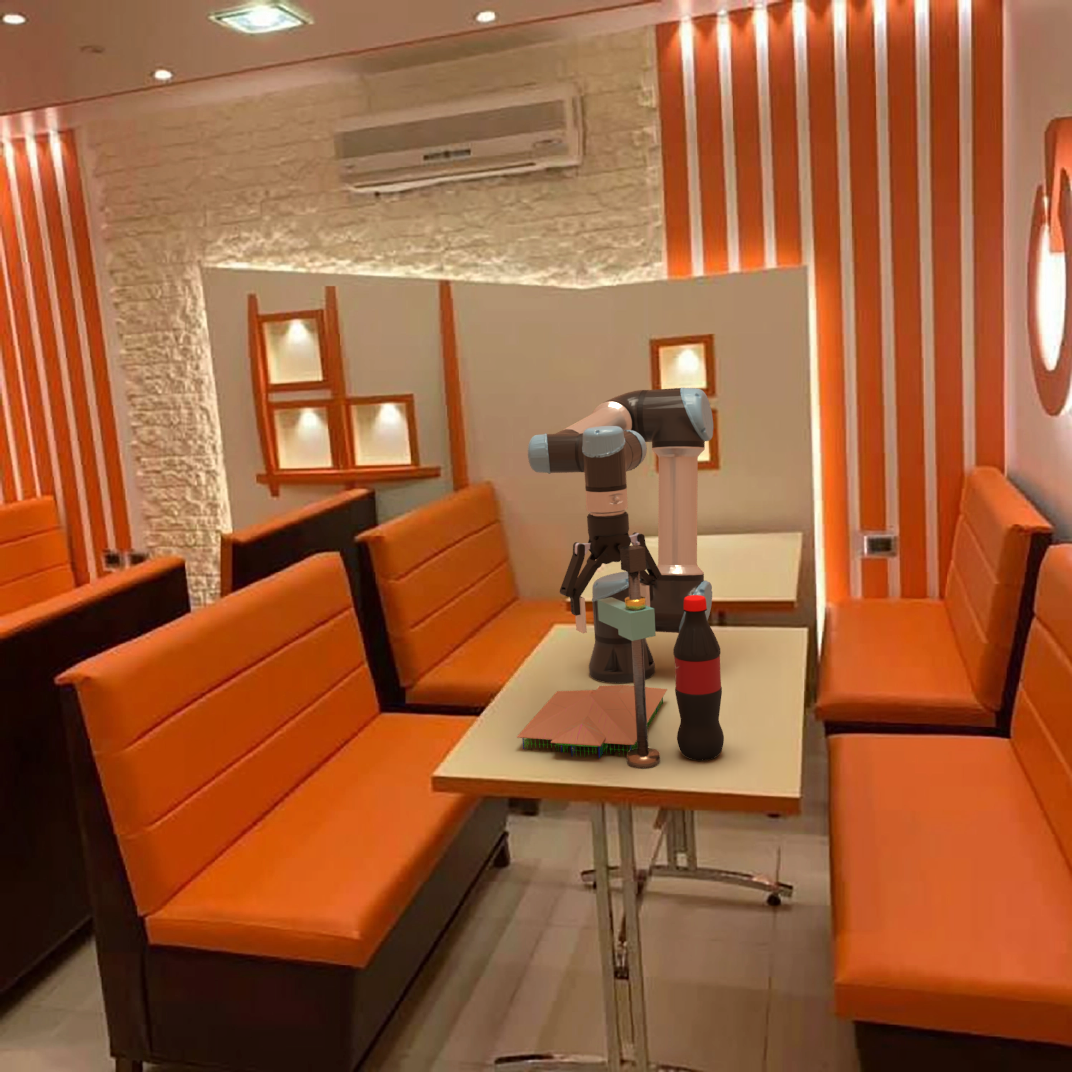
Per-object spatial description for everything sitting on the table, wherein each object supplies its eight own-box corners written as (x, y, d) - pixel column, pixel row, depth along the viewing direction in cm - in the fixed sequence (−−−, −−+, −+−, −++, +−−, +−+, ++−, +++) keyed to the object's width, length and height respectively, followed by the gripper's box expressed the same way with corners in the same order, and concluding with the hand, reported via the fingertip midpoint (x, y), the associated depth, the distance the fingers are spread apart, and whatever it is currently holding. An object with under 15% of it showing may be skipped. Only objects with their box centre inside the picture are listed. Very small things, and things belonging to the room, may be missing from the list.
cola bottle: (719, 743, 196) (713, 589, 191) (728, 761, 188) (723, 600, 183) (674, 747, 196) (667, 592, 191) (682, 765, 188) (675, 604, 182)
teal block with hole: (594, 623, 195) (593, 597, 195) (616, 619, 197) (615, 593, 196) (632, 640, 183) (630, 613, 182) (655, 636, 185) (654, 608, 184)
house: (513, 758, 197) (509, 717, 196) (564, 698, 228) (561, 662, 226) (631, 767, 190) (629, 724, 188) (668, 703, 220) (666, 666, 219)
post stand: (621, 759, 192) (609, 547, 185) (648, 752, 195) (638, 542, 187) (637, 771, 187) (626, 552, 179) (666, 763, 189) (656, 547, 182)
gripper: (555, 524, 181) (563, 641, 185) (676, 505, 192) (681, 617, 196) (536, 518, 188) (544, 632, 192) (655, 500, 198) (660, 609, 202)
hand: (613, 625), depth 194 cm, fingers open, 13 cm apart
